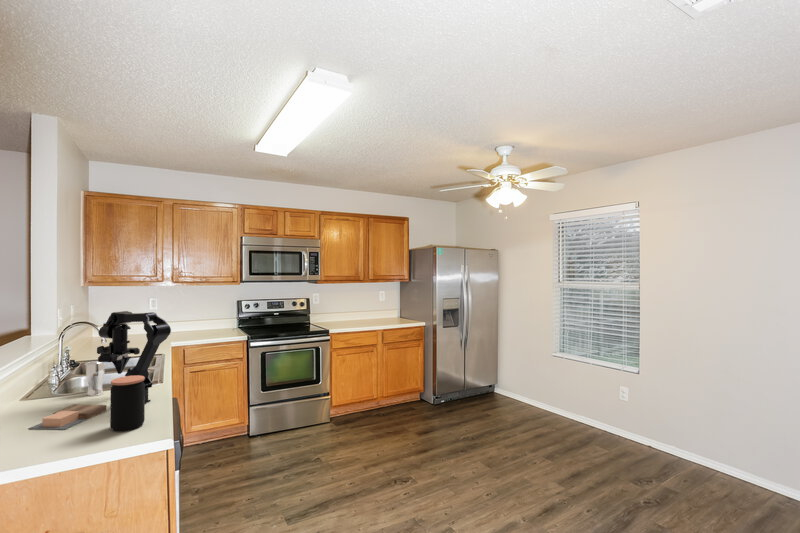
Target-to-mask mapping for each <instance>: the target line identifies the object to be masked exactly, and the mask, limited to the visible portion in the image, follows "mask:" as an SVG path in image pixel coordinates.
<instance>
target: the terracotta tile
mask: <svg viewBox="0 0 800 533" xmlns="http://www.w3.org/2000/svg"><path fill="white" fill-rule="evenodd" d="M77 419H79V411H60V412H58V413H55V414H53V413H52V414H51V415H47V416H45V417H43V418H42V423H43V426H45V427H61V426H64V425H66V424H68V423H70V422H73V421H75V420H77Z"/></svg>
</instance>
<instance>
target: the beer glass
mask: <svg viewBox="0 0 800 533" xmlns="http://www.w3.org/2000/svg"><path fill="white" fill-rule="evenodd" d="M85 369H86V371H85V373H86V374H85V376H86V382H87V388H88V389H87V393H86V394H87V396H88V397H94V396H95V397H97V396H101V395H103V394H104V389H103V381H104V378H105V377H104V376H105V362H98V360H97V361H89V362H87V363H86V368H85ZM102 393H103V394H102Z"/></svg>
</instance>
